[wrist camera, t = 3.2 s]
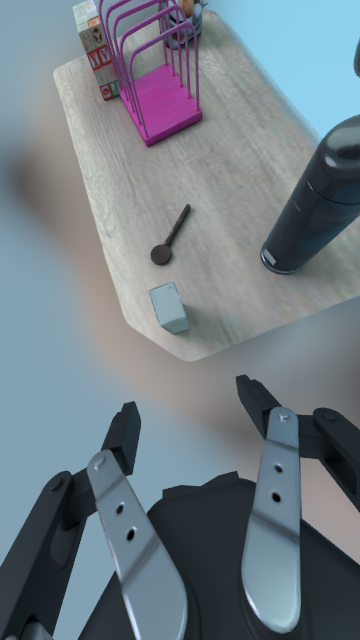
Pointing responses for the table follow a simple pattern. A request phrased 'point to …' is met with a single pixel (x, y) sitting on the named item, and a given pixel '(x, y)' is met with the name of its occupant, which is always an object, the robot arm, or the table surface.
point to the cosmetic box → (169, 308)
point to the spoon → (167, 242)
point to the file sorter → (155, 77)
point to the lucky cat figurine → (193, 9)
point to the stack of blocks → (96, 48)
